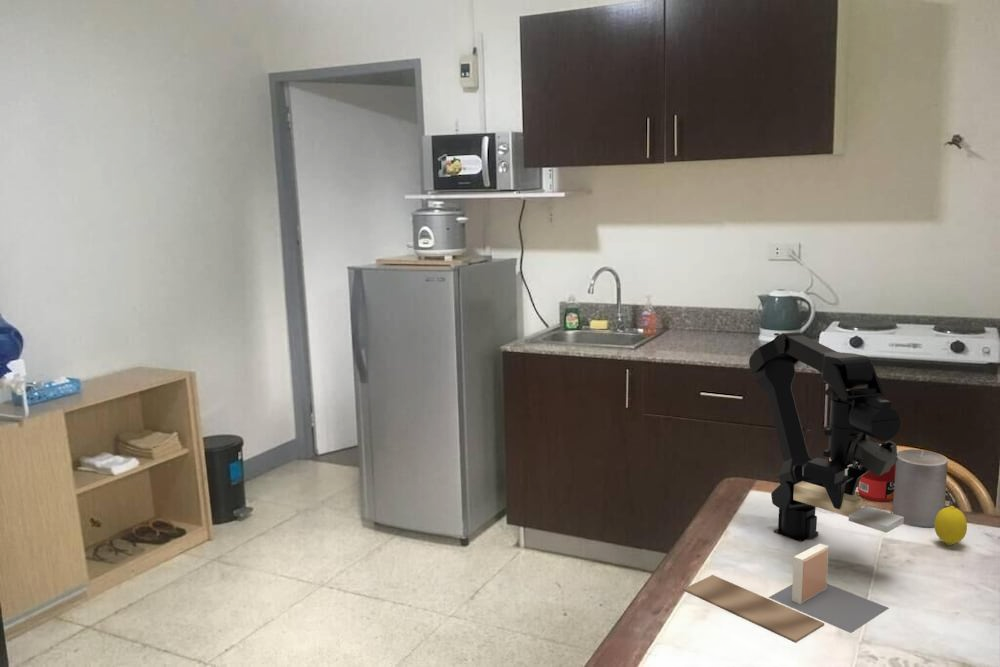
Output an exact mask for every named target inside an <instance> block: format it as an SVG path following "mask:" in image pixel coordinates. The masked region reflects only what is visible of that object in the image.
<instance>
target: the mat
mask: <svg viewBox="0 0 1000 667" xmlns="http://www.w3.org/2000/svg"><path fill="white" fill-rule="evenodd" d="M792 586H793V583H792V584H790V585H789V586H787V587H785V588H783V589H781V590H779V591H778V592H775V593H774V594H772V595H770V596H769V597H768V599H770V600H772V601H774V602H777V603H779V604H781V605H784V606H786V607H788V608H791V609H793V610H795V611H797V612H800V613H802V614H804V615H807V616H809V617H811V618H814V619H816V620H818V621H821V622H823V623H826V624H828V625H831V626H833V627H836V628H838V629H841V630H842V631H845V632H848V633H850V634H852V633H854V632H855V631H856V630H858V629H860V628H861V627H862V626H864V625H866V624H867V623H869V622H870V621H872V620H873V619H876V617H879V615H881V614H882V613H884V612H885V611H887V610H889V609H890V608H889V607H888V606H885V605H883V604H880V603H879V602H875V601H873V600H870V599H867V598H866V597H862V596H860V595H857V594H854V593H852V592H850V591H847V590H845V589H842V588H839V587H837V586H835V585H831V584H829V583H827V585H826V590H824V591H822V592H821V593H819V594H817V595H815V596H814V597H812V598H810V599H808V600H807V601H805V602H803V603H801V604H799V603H796V602H794V601H792Z"/></svg>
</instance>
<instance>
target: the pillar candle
mask: <svg viewBox="0 0 1000 667" xmlns="http://www.w3.org/2000/svg"><path fill="white" fill-rule="evenodd" d="M897 454H898V456H897V458H898V461H896V469H895V484H894V500H892V514H895V515H899V516H902V517H904V522H903V524H904V525H907V526H910V527H914V526H915V527H918V528H922V527H923V528H935V519H936V516H937V514H938V513H939V511H940V510H942V509H944V508H946V492H947V480H948V478H947V476H948V475H947V474H948V464H949V462H948V461H949V460H948V458H947V457H946V456H945V455H943V454H941V453H938V452H935V451H931V450H925V449H902V450H900V451H899V452H898V453H897Z"/></svg>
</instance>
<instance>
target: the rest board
mask: <svg viewBox="0 0 1000 667" xmlns="http://www.w3.org/2000/svg"><path fill="white" fill-rule="evenodd" d="M683 591H684V592H687V594H691V595H693V596H695V597H697V598H699V599H701V600H702V601H703V600H704V601H705V602H708V603H709V604H711V605H714V606H715V607H719V608H720V609H723V610H725V611H727V612H729V613H732V614H734V615H736V616H737V617H740V618H742V619H744V620H746V621H748V622H751V623H753V624H754V625H757V626H759V627H761V628H764V629H766V630H768V631H770V632H772V633H774V634H776V635H778V636H781V637H783V638H784V639H787V640H789V641H791V642H793V643H798V642H800V641H801V640H803V639H804V638H806V637H807V636H809V635H811V634H813V633H814V632H816V631H817V630H819V629H820V628H823V627H824V626H825V622H824V621H821V620H819V619H817V618H815V617H812V616H810V615H808V614H805V613H803V612H801V611H798V610H796V609H794V608H791V607H789V606H787V605H785V604H782V603H780V602H778V601H775V600H773V599H771V598H767V597H765V596H763V595H760V594H758V593H755V592H754V591H751V590H748V589H746V588H745V587H741V586H739V585H738V584H734V583H733V582H730V581H728V580H725V579H723V578H721V577H718V576H716V575H714V574H711V575H709V576H707V577H705V578H703V579H701V580H698V581H697V582H694V583H692V584H690V585H689V586H687V587H684V588H683Z"/></svg>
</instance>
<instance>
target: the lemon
mask: <svg viewBox="0 0 1000 667" xmlns="http://www.w3.org/2000/svg"><path fill="white" fill-rule="evenodd" d="M967 527H968V523H967V519H966V516H965V515H964V513H963V512H962V511H961V510H960V509H959V508H956V507H955V506H953V505H950V506H947V507H946V506H945V508H944V509H942V510H940V511H939V513H938V514H937V516H936V519H935V527H934V531H935V533H936V535H937V537H938V538H939V539H940V540H941V541H942V542H945V543H946V545H947V546H953V545H954V544H957V543H959V542H961V541H962V540H963V539H964V538H965V537H966V535H967V530H968V528H967Z"/></svg>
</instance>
